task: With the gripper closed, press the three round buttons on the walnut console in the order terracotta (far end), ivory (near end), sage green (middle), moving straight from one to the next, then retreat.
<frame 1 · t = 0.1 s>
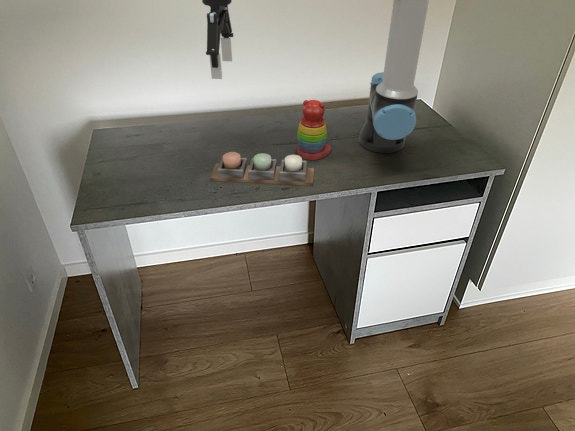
hand: (222, 69, 132), 28 cm above the table, fingers open, 13 cm apart
console: (263, 175, 140), on the table
ivory button: (293, 163, 136), point 5 cm above the table, slide at 0.0 cm
stacking bear: (311, 153, 151), on the table
sage button: (262, 162, 137), point 5 cm above the table, slide at 0.0 cm
terracotta button: (232, 160, 137), point 5 cm above the table, slide at 0.0 cm
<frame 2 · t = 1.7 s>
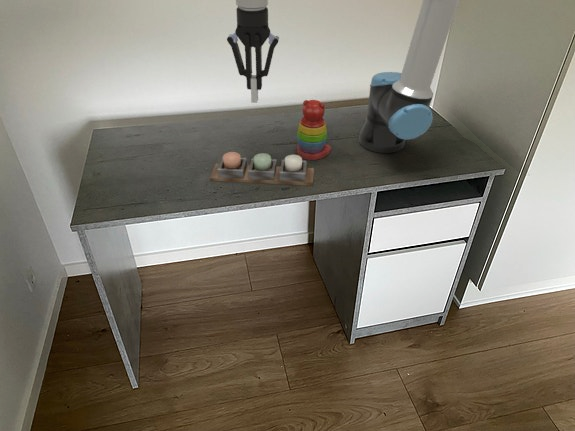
hand: (254, 100, 125), 24 cm above the table, fingers closed
nothing on the table moved.
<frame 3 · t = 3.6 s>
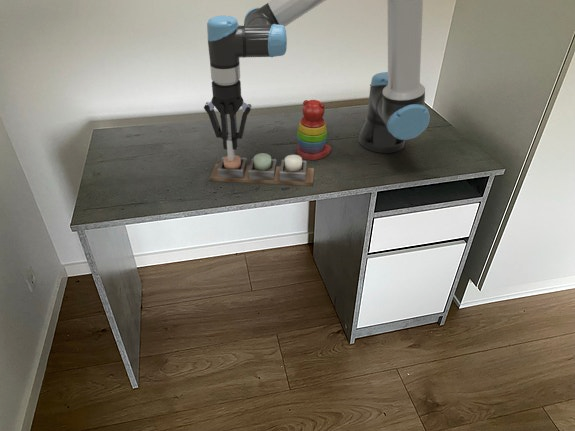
hand: (231, 158, 137), 5 cm above the table, fingers closed
terracotta button: (232, 163, 138), point 4 cm above the table, slide at -1.0 cm, touching gripper
everything else where it was.
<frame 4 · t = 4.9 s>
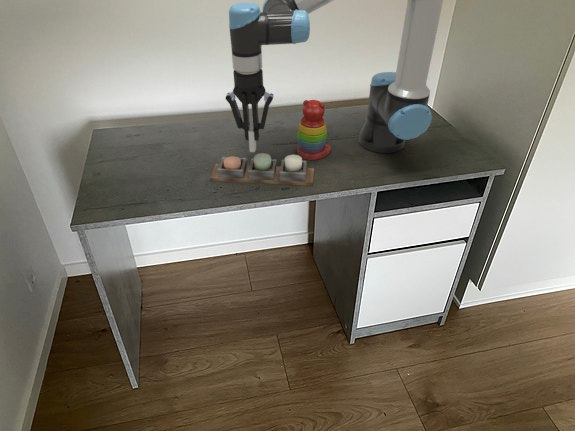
hand: (253, 149, 135), 9 cm above the table, fingers closed
terracotta button: (232, 165, 138), point 3 cm above the table, slide at -1.5 cm
everything else where it was.
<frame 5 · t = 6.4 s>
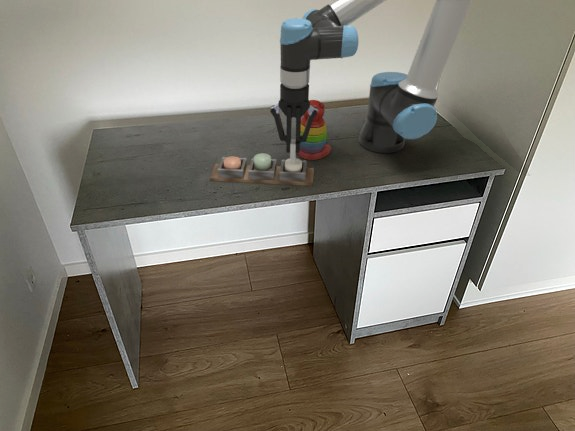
hand: (292, 161, 136), 5 cm above the table, fingers closed
ivory button: (293, 166, 137), point 4 cm above the table, slide at -1.1 cm, touching gripper
everything else where it was.
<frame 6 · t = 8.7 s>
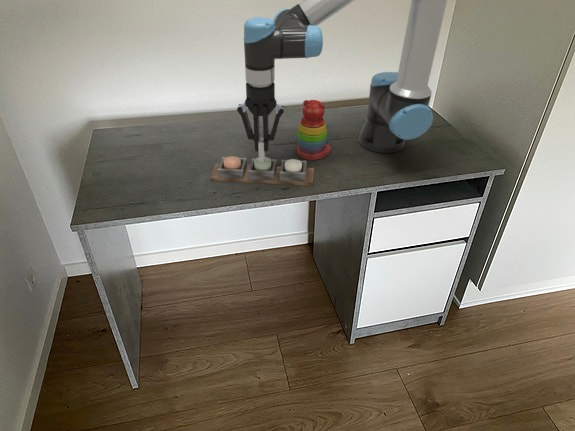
hand: (262, 160, 136), 5 cm above the table, fingers closed
ivory button: (293, 167, 137), point 3 cm above the table, slide at -1.5 cm
sage button: (262, 165, 137), point 4 cm above the table, slide at -1.1 cm, touching gripper
everything else where it was.
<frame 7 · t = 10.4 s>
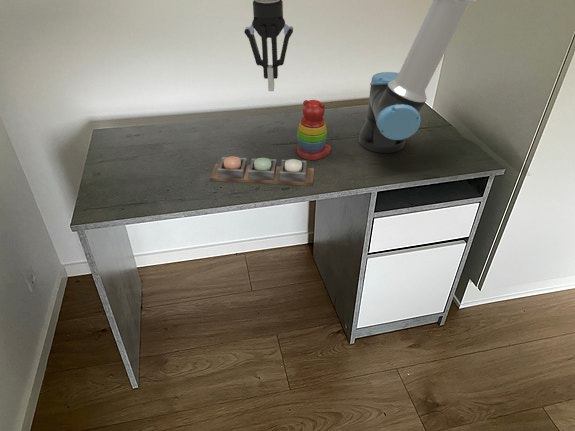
hand: (271, 89, 132), 24 cm above the table, fingers closed
sage button: (262, 166, 138), point 3 cm above the table, slide at -1.5 cm
everything else where it was.
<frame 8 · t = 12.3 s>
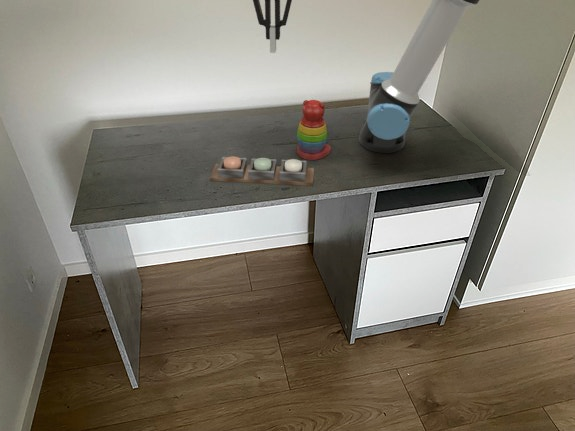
hand: (273, 51, 131), 32 cm above the table, fingers closed
nothing on the table moved.
at the end: terracotta button slide at -1.5 cm; ivory button slide at -1.5 cm; sage button slide at -1.5 cm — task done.
